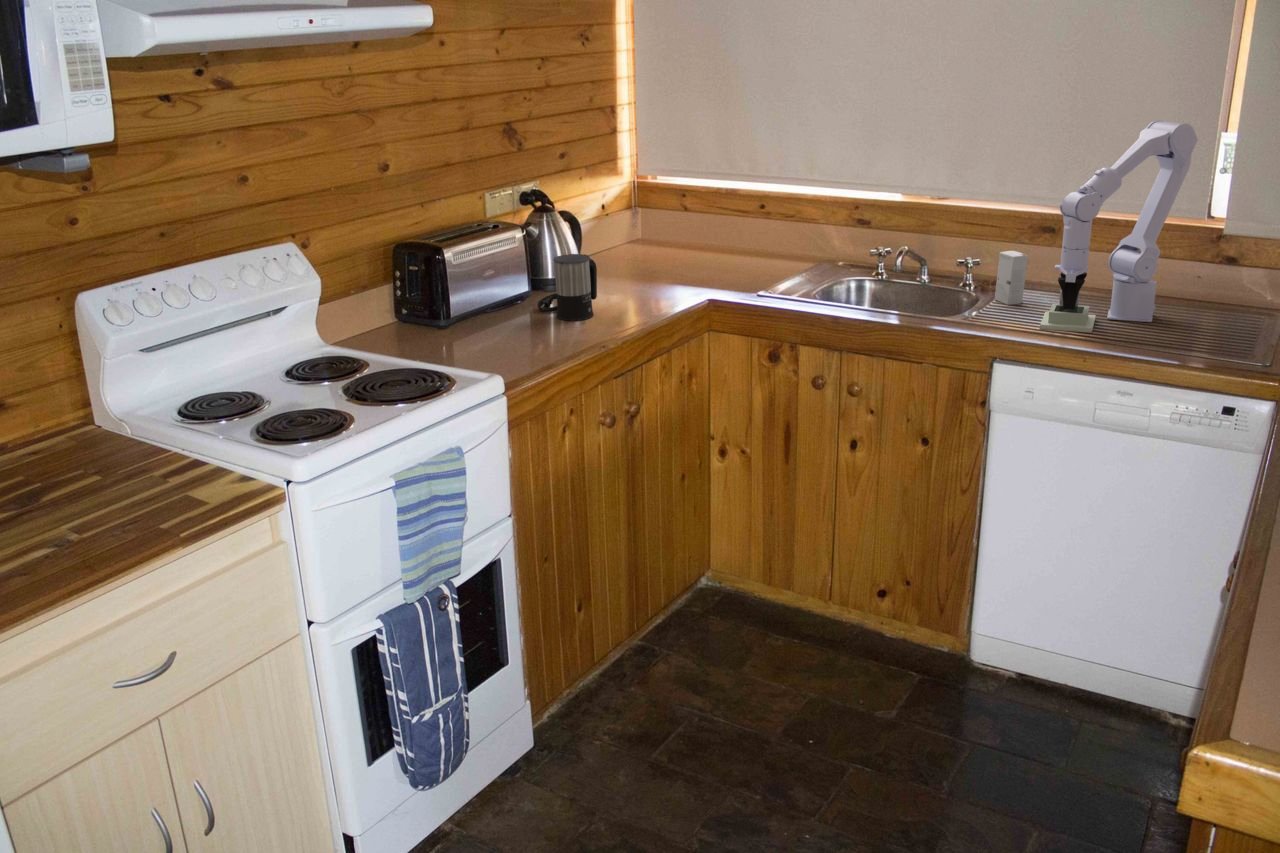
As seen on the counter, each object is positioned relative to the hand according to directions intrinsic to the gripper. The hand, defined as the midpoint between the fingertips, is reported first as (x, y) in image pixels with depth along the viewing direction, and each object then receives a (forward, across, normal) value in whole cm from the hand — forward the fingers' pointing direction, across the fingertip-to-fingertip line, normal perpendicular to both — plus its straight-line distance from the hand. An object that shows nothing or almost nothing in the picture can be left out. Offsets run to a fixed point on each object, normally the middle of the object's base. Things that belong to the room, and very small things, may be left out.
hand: (1069, 306), depth 257 cm
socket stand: (+4, 0, 0) cm, 4 cm away
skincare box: (+4, -17, -15) cm, 23 cm away
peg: (+2, 0, 0) cm, 2 cm away
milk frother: (+4, +25, -117) cm, 119 cm away
